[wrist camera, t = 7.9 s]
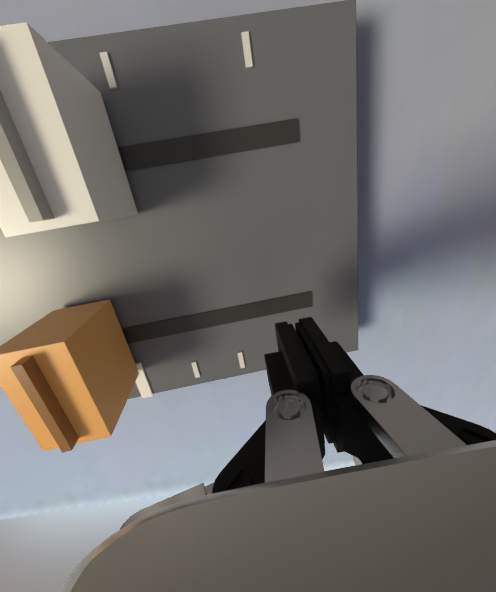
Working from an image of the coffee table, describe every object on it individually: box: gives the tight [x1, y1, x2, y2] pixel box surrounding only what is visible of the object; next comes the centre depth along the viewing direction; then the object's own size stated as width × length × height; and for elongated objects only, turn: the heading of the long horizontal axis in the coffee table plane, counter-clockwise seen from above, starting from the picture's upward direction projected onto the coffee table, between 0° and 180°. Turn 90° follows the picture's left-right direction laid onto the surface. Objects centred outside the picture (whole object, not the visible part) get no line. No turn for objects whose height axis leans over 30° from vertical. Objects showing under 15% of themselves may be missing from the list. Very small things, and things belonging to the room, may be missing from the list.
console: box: [0, 0, 358, 399], centre depth 15 cm, size 22×18×2 cm
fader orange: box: [0, 299, 139, 452], centre depth 12 cm, size 3×5×5 cm, turn 9°
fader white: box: [0, 22, 138, 237], centre depth 9 cm, size 3×5×5 cm, turn 9°
